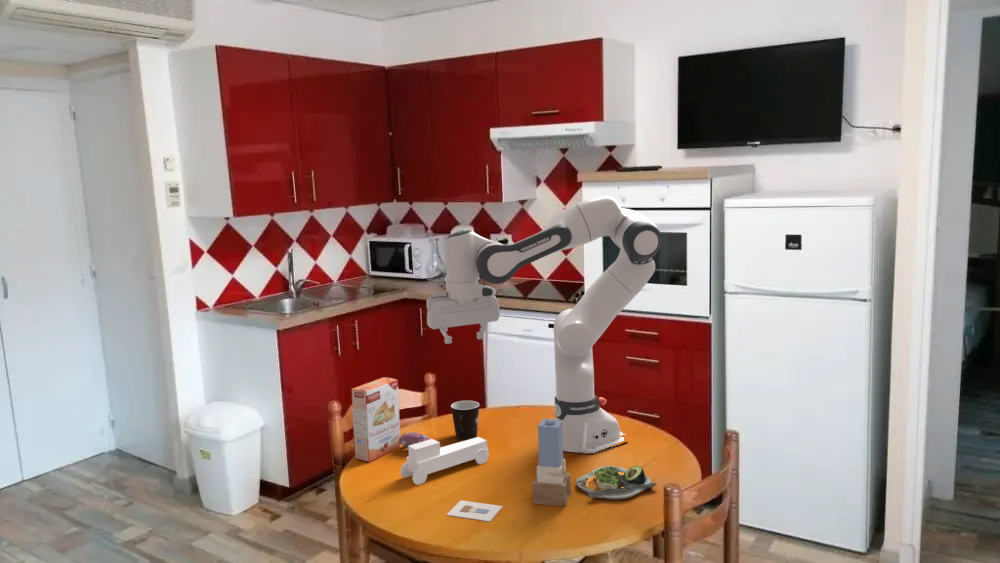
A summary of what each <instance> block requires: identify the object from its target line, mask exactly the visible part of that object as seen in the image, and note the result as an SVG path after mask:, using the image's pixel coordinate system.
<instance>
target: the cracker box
mask: <svg viewBox="0 0 1000 563" xmlns="http://www.w3.org/2000/svg"><path fill="white" fill-rule="evenodd" d="M399 397H400V396H399V380H398V379H396V378H392V377H386V376H385V377H381V378H378V379H375V380H373V381H370V382H366V383H363V384H361V385H358V386H355V387H353V388H351V401H352V403H351V404H352V405H351V406H352V420H353V421H352V424H353V441H354V458H355V460H359V461H363V462H367V463H371V462H373V461H374V460H376V459H379V458H381V457H383V456H384V455H386V454H389V453H390V452H393V451H395V450H397V449H399V448H401V444H400V443H399V438H400V437H401V429H400V428H401V427H400V422H401V421H400V405H399V403H400V402H399V401H400V400H399Z"/></svg>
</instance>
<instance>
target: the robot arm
mask: <svg viewBox="0 0 1000 563" xmlns="http://www.w3.org/2000/svg"><path fill="white" fill-rule="evenodd" d="M604 237H608V238H609V240H611V241H612V243H614V244H615V245H616V246H617V247H618V248H619V253H618V256H617V258H616V259H615V261H614V262H613V263H611V264H610V265H609V266H608V268H607V269H606V270H605V271H603V273H601V275H600V276H599V277H598V278H597V279H596V280H595V281H594V282H593V283H592V284H591V285H590V286H589V287H588V288H587V290H585V293H584V294H583V295H582V296H581V298H580V299H579V300H578V302H577V303H576V304H575V305H574V307H573V308H567V309H565V310H563V311H561V312H560V313H559V314H558V315H557V316H556V318H555V320H554V322H553V342H554V343H553V344H554V345H553V346H554V370H555V372H554V373H555V374H554V375H555V396H554V416H555V420H562V429H563V452H568V453H580V454H581V453H582V454H587V453H588V455H590V454H589V453H594V454H596V453H595V452H597V453H599V452H598V451H600V450H603V449H605V448H608V447H611V446H613V445H615V444H617V443H620V442H622V441H624V437H621V435H626V434H625V433H624V434H623V432H622V431H621V430H620V429H621V428H620V424H619V422H618V421H617V419H616V418H615V417H614V416H613V415H612V414H610V413H609V412H607V411H606V410H604V409H603V408H601V406H605V405H606V404H607V399H606V398H604V397H602V396H600V397H599V396H598V395H596V394H595V369H594V356H593V355H594V353H593V346H594V345H595V344H596V342H597V341H598V340H599V339H600V338H601V336H602V335H604V332H605V331H606V330H607V328H609V326H610V325H611V323H612V322H613V321H614V320H615V318H616V317H617V316H618V314H620V313H621V312H622V311H623V310H624V309H625V307H627V306H628V305H629V303H631V301H632V300H633V299H634V298H635V297H636V296H637V295H638V294H639V293H640V292H641V291H642V289H643V288H644V287H645V286H647V284H648V282H649V280H650V279H651V277H652V276H653V274H654V273H655V271H656V263H655V261H654V259H655V258H656V255H657V253H658V252H659V251H660V248H661V246H662V241H663V240H662V239H663V238H662V233H661V231H660V229H659V227H658V226H657V225H656V223H654V221H653V222H652V220H650V219H649V217H647V216H646V215H644V214H642V213H640V212H638V211H636V210H635V209H633V208H630V207H623V206H620V204H619V202H618V201H617V200H616V199H615V198H614V197H612V196H610V195H603V196H598V197H591V198H589V199H586V200H583V201H580V202H576V203H575V204H572V205H570V206H568V207H566V208H564V209H562V210H559V212H558V213H555V214H554V215H553V216H552V217H551V218H550V221H549V222H548V224H547V225H546V227H544V228H543V229H542V230H541V231H539V232H537V233H535V234H533V235H531V236H530V235H529V236H528V237H526V238H524V239H522V240H519V241H517V242H515V243H511V244H503V243H501V242H498V241H495V240H492V239H490V238H489V239H488V238H486V237H483V236H481V235H479V234H477V233H476V232H475V231H473V230H471V229H468V230H460V231H457V232H454V233H451V234H450V235H448V236H447V238H446V239H445V242H444V266H445V270H446V275H445V276H446V277H445V292H441V293H432V294H430V296H428V297H427V298H426V301H425V302H426V304H425V305H426V310H427V313H426V324H427V326H428V327H429V328H430V329H432V330H438V329H439V331H440V333H441V334H442V336H443V338H444V344H447V345H448V344H452V343H453V341H452V340H453V336H451V335H448V333H447V332H448V331H449V330H448V328H455V327H460V326H461V327H462V326H471V325H477V324H479V326H480V329H479V331H477V332H476V339H477V340H484V339H485V332H486V330H487V329H488V323H493V322H497V321H499V319H500V315H501V314H500V305H499V301H498V298H497V297H496V293H497V291H496V288H494V287H492V286H489V285H485V284H483V283H480V282H479V277H480V278H482V279H483V280H484V281H485V282H487V283H489V284H492V285H500V284H504V283H506V282H508V281H510V279H511V278H512V277H513V276H515V274H516V273H517V272H518V271H519V270H520V269H522V268H523V267H525V266H526V265H529V264H532V263H533V262H535V261H539V260H540V259H543V258H544V257H547V256H549V255H551V254H554V253H556V252H561V251H565V250H570V249H574V248H577V247H581V246H583V245H586V244H589V243H590V242H592V241H593V242H594V241H596V240H598V239H599V238H604ZM600 405H601V406H600ZM603 451H604V450H603ZM600 452H601V451H600Z"/></svg>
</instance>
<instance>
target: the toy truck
mask: <svg viewBox="0 0 1000 563" xmlns="http://www.w3.org/2000/svg"><path fill="white" fill-rule="evenodd" d="M440 443H441V442H440V441H438V440H435V439H433V438H430V440H427V441H423V442H420V443H416V444H415V443H414V444H413V445H409V446H408V448H407V451H408V455H407V456H406V462H405V463H403V464H402V465H401V466H400V470H399V471H400V476H401V477H403V478H404V479H405V478H406V479H407V478H409V477H411V476H412V478H411V479H412V482H413V483H414V484H415V485H417V486H418V485H422V484H424V483H425V482H426V481H427V478H428V475H429V474H432V473H436V472H439V471H441V470H445V469H448V468H451V467H455V466H457V465H461V464H462V463H467V462H469V461H473V460H475V462H476V464H478V465H482V464H485V463H486V462H487V461H488V459H489V455H490V450H489V445H488V440H487V439H484V438H483V437H479V436H477V437H476V438H473V439H469V440H461V441H459V442H455V443H452V444H448V445H445V446H441V444H440Z"/></svg>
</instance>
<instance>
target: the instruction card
mask: <svg viewBox="0 0 1000 563" xmlns="http://www.w3.org/2000/svg"><path fill="white" fill-rule="evenodd" d="M502 508H503V505H497V504H489V503H482V502H476V501H475V502H474V501H468V500H459V501H458V502H457V503H456V504H455V505H454V506H453V507H452V509H451V510H449V512H447V514H446V516H449V517H455V518H461V519H462V518H463V519H470V520H475V521H476V520H477V521H481V522H488V523H491V521H493V519H494V517H496V515H497V514H498V513H499V512H500V510H502Z"/></svg>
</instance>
